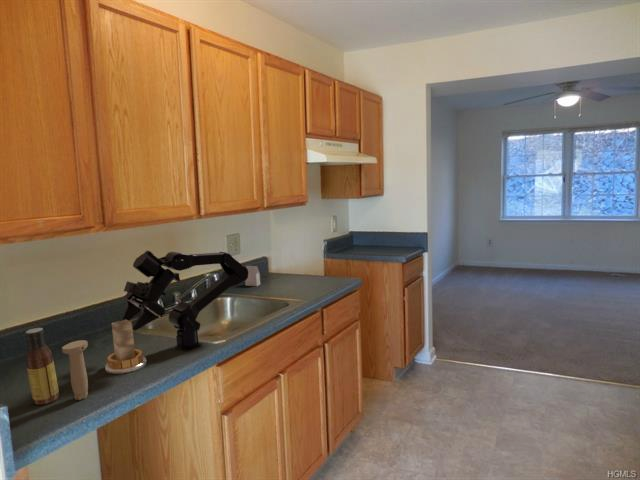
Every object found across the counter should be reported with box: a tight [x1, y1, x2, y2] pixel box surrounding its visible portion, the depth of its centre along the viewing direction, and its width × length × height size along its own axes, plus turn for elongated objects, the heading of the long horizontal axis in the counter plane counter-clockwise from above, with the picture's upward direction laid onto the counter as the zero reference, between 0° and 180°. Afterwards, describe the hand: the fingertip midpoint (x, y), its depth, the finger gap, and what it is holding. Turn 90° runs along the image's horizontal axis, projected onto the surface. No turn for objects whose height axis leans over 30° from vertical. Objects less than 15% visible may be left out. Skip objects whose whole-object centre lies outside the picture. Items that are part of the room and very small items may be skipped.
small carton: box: [244, 265, 261, 287], centre depth 247 cm, size 4×7×10 cm, turn 68°
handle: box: [61, 339, 89, 401], centre depth 127 cm, size 5×6×15 cm
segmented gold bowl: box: [104, 348, 148, 375], centre depth 148 cm, size 12×12×4 cm
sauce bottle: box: [25, 327, 60, 406], centre depth 126 cm, size 6×6×20 cm
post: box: [111, 319, 136, 360], centre depth 147 cm, size 4×4×13 cm
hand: (127, 326), depth 148 cm, fingers open, 9 cm apart
